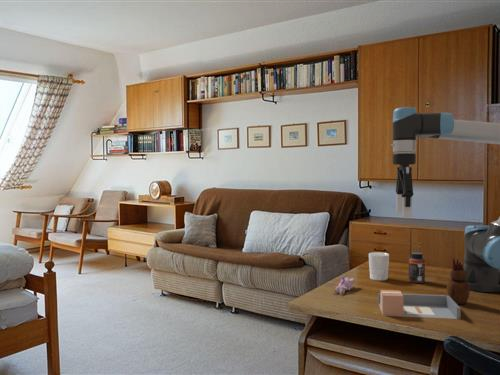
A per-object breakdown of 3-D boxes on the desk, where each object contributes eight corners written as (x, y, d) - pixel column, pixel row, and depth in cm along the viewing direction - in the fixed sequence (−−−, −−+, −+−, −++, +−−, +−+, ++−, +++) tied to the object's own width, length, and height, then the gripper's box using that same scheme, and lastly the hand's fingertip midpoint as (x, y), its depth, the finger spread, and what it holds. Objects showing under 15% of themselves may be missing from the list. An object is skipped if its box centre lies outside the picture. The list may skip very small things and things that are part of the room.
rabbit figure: (346, 300, 156) (359, 284, 168) (344, 284, 154) (359, 269, 167) (329, 298, 159) (343, 282, 171) (328, 282, 158) (342, 267, 170)
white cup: (366, 276, 184) (366, 252, 183) (386, 276, 183) (386, 252, 183) (371, 281, 176) (371, 256, 175) (391, 281, 176) (391, 256, 175)
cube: (400, 309, 140) (400, 290, 140) (403, 315, 134) (403, 295, 134) (379, 308, 141) (380, 289, 141) (382, 314, 136) (382, 294, 135)
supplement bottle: (424, 284, 170) (424, 254, 170) (408, 282, 173) (408, 253, 172) (425, 280, 176) (425, 252, 175) (409, 279, 178) (409, 251, 178)
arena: (448, 306, 144) (448, 295, 144) (460, 319, 131) (460, 308, 131) (377, 303, 148) (378, 292, 148) (382, 316, 135) (383, 305, 135)
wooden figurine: (449, 305, 145) (450, 259, 144) (444, 299, 151) (445, 255, 150) (471, 305, 144) (472, 259, 143) (465, 300, 150) (466, 256, 149)
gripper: (388, 154, 166) (387, 210, 167) (398, 152, 142) (398, 218, 143) (409, 153, 165) (408, 210, 166) (423, 151, 140) (422, 219, 142)
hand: (403, 214), depth 154 cm, fingers open, 13 cm apart
